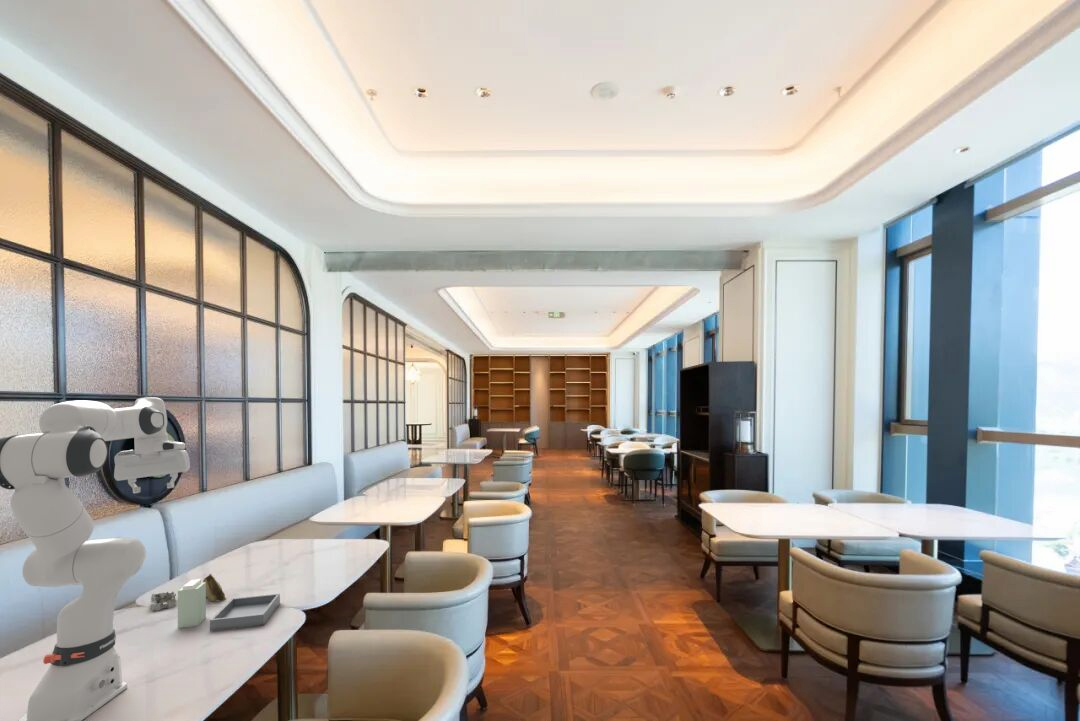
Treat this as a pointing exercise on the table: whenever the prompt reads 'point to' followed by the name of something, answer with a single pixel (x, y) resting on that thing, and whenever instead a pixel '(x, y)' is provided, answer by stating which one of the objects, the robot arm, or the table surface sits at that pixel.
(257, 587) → the table surface
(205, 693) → the table surface
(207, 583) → the rock
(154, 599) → the grey carved figurine
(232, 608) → the tray
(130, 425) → the robot arm
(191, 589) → the juice carton
